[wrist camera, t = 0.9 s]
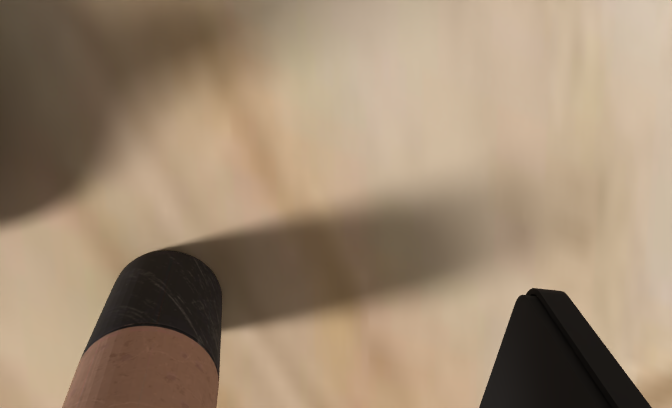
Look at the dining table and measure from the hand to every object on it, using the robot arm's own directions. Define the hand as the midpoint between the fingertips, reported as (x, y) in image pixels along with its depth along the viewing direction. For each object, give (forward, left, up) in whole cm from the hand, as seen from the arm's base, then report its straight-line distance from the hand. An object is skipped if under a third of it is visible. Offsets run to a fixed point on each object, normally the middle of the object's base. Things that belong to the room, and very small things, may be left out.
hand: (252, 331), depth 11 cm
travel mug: (+13, +13, -28) cm, 34 cm away
